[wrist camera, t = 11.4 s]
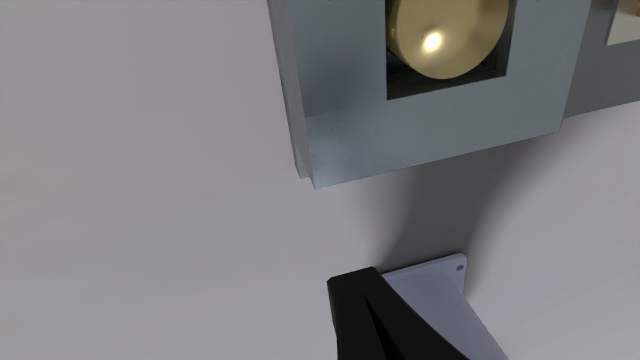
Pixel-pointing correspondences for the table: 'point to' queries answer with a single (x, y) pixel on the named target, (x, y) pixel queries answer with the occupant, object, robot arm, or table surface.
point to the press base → (442, 83)
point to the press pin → (443, 33)
